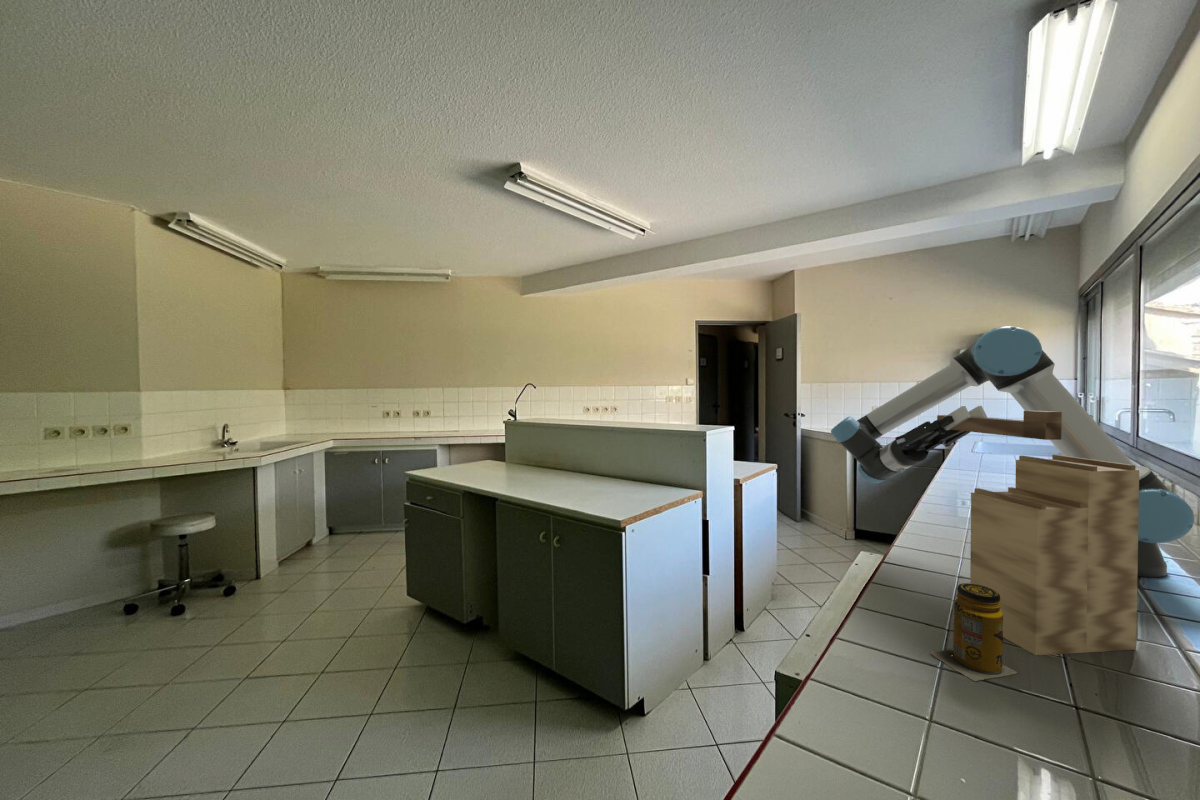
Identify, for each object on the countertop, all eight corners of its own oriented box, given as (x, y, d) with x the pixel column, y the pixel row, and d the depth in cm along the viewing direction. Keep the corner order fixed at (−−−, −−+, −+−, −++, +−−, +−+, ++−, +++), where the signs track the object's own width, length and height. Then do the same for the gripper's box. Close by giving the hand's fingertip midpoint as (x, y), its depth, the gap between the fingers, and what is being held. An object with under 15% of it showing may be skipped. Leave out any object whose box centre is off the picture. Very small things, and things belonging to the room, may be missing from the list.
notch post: (1057, 613, 87) (1059, 454, 86) (1136, 649, 75) (1139, 465, 74) (970, 618, 85) (971, 456, 85) (1035, 655, 73) (1037, 467, 73)
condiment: (1018, 673, 69) (1019, 596, 69) (974, 682, 67) (975, 603, 67) (969, 647, 76) (970, 577, 76) (929, 654, 74) (929, 582, 74)
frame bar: (949, 427, 104) (949, 406, 104) (1061, 439, 81) (1061, 411, 80) (937, 428, 104) (937, 406, 104) (1045, 439, 80) (1046, 411, 80)
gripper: (939, 465, 115) (1018, 426, 95) (879, 466, 114) (946, 427, 94) (928, 438, 119) (1001, 395, 98) (869, 439, 118) (932, 396, 97)
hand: (974, 411), depth 96 cm, fingers closed on frame bar, 3 cm apart
